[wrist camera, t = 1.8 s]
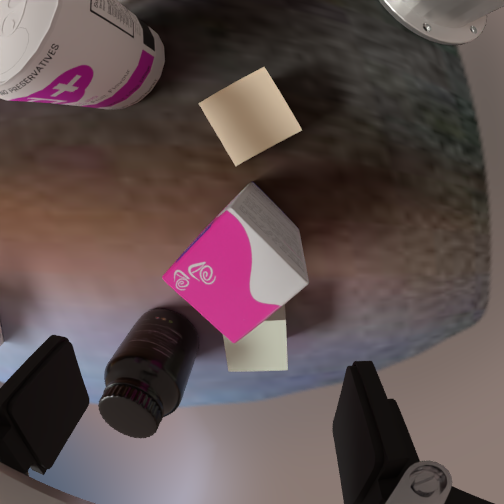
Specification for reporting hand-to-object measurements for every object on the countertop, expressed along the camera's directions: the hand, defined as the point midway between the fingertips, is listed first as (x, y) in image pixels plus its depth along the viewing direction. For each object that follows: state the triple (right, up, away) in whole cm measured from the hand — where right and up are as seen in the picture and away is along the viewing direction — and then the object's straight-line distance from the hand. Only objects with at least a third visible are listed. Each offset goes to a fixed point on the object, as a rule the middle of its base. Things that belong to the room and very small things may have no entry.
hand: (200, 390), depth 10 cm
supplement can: (-9, +21, +14) cm, 27 cm away
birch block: (+2, +15, +15) cm, 21 cm away
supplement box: (+2, +7, +18) cm, 19 cm away
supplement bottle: (-7, -4, +22) cm, 23 cm away
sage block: (+2, -2, +21) cm, 21 cm away
